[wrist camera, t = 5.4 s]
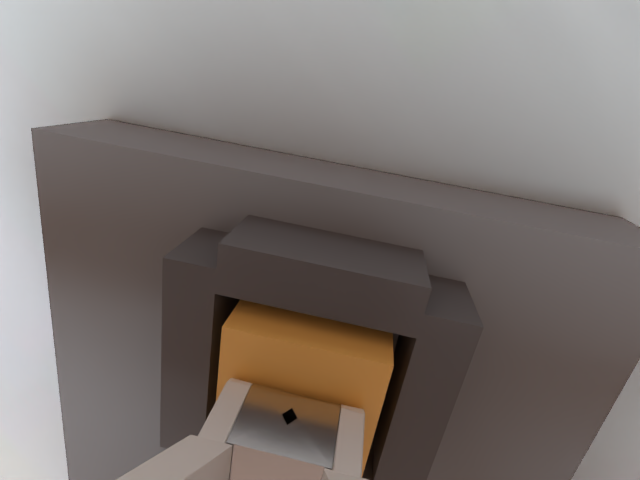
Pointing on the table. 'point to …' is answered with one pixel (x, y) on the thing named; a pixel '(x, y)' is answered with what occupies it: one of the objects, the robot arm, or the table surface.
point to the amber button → (308, 358)
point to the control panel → (328, 299)
